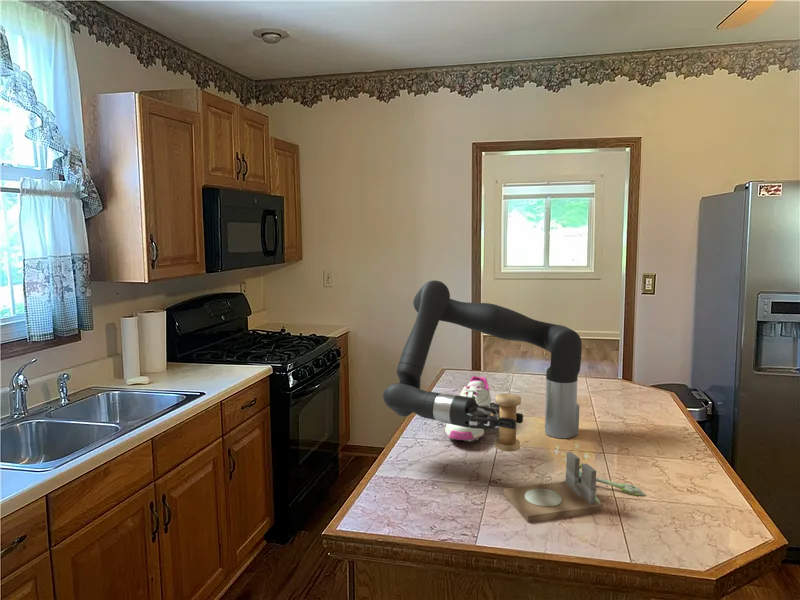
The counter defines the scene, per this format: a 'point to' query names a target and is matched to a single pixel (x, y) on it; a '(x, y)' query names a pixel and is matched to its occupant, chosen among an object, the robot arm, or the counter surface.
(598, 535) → the counter surface
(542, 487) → the board
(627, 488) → the plant
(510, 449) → the bobbin
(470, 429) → the golf shoe
